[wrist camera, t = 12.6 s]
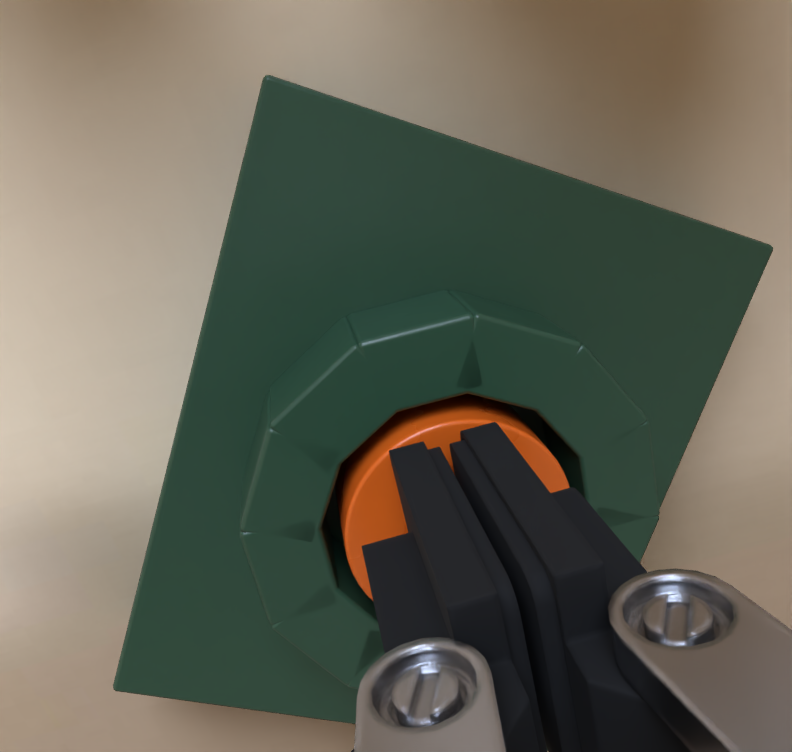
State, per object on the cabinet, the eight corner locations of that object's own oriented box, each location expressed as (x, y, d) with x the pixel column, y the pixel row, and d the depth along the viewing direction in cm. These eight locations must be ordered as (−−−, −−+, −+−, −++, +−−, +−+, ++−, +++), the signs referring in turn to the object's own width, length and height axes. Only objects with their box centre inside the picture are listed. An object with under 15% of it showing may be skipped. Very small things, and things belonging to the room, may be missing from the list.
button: (498, 586, 14) (528, 646, 12) (310, 550, 13) (315, 610, 12) (566, 409, 13) (608, 449, 11) (369, 359, 12) (384, 394, 11)
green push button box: (521, 681, 18) (588, 828, 14) (132, 618, 16) (88, 771, 12) (707, 230, 15) (852, 264, 11) (265, 81, 13) (262, 62, 9)
